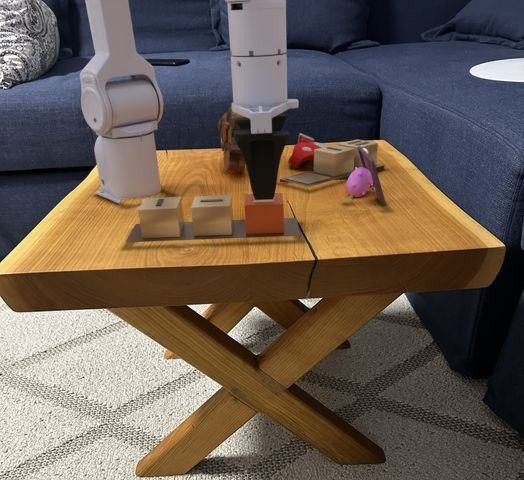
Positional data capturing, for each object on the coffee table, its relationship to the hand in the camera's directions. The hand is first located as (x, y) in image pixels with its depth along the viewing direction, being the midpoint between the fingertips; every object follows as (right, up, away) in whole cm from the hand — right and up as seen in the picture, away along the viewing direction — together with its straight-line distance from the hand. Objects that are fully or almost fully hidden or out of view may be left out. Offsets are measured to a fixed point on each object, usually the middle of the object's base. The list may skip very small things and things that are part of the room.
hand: (263, 189), depth 64 cm
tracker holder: (+9, +14, +33) cm, 36 cm away
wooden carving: (-5, +11, +30) cm, 32 cm away
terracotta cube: (0, -4, +2) cm, 4 cm away
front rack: (-6, -5, +3) cm, 8 cm away
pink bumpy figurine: (+13, +2, +12) cm, 18 cm away
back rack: (+11, +9, +24) cm, 28 cm away
